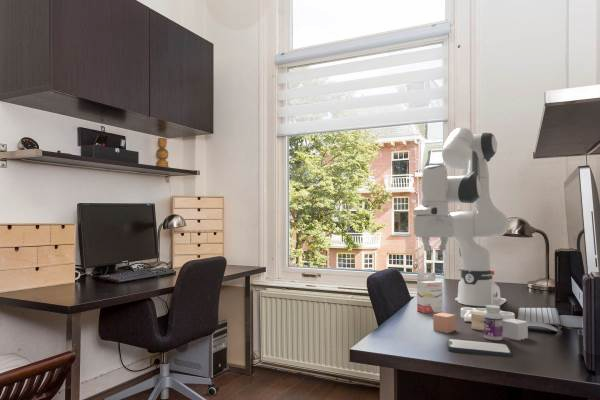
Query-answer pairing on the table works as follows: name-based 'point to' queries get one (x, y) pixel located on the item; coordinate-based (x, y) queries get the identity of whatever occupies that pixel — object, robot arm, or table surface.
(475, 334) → the table surface
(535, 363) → the table surface
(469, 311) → the knuckle duster
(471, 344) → the phone case
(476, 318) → the maple block
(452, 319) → the terracotta block
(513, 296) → the table surface
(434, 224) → the robot arm
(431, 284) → the ink cartridge box
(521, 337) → the grey block
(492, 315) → the pill bottle
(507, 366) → the table surface
